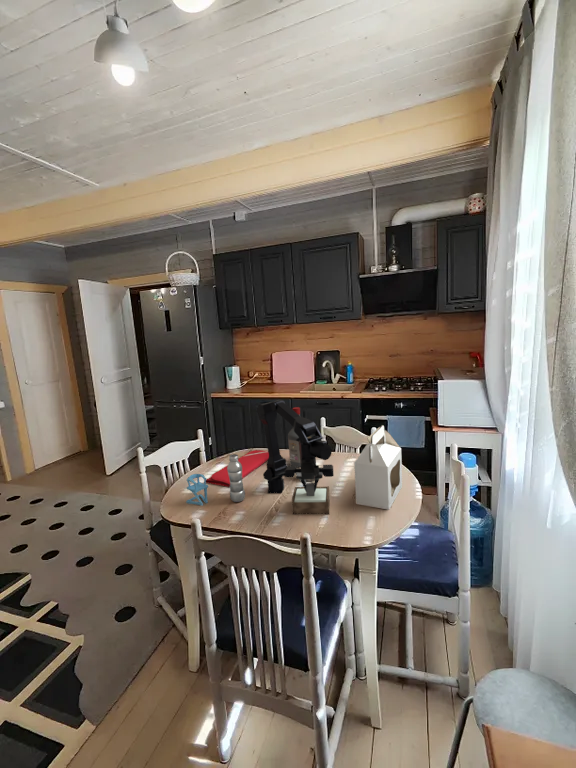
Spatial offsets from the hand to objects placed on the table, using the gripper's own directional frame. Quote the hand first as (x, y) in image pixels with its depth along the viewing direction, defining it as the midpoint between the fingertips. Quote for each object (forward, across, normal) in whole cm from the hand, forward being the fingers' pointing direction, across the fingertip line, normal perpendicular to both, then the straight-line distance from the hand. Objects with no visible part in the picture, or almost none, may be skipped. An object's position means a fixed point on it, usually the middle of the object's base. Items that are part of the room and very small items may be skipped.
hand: (310, 491), depth 150 cm
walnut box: (+7, 0, 0) cm, 7 cm away
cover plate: (+2, 0, 0) cm, 2 cm away
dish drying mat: (+8, -39, +42) cm, 57 cm away
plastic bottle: (+7, -32, +7) cm, 34 cm away
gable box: (+7, +28, +11) cm, 31 cm away
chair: (+7, -49, +6) cm, 50 cm away
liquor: (+7, -9, +46) cm, 47 cm away
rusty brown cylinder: (+7, -3, +28) cm, 29 cm away
